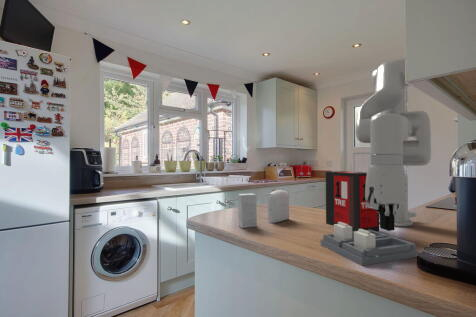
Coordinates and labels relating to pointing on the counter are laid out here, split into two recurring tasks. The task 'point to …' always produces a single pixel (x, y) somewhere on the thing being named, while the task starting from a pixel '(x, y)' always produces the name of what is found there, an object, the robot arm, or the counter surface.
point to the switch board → (382, 252)
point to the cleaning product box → (349, 201)
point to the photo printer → (278, 206)
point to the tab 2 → (364, 239)
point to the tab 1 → (342, 231)
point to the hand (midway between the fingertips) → (387, 229)
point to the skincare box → (247, 210)
